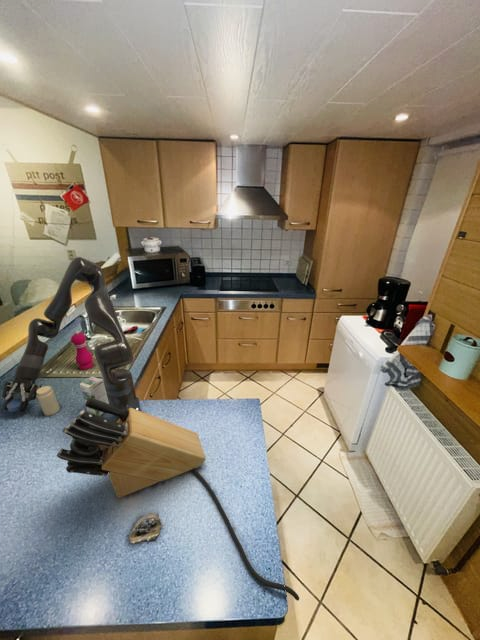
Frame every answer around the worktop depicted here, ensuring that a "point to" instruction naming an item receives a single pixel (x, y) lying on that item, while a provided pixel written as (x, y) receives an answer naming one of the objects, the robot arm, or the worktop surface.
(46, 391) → the jar
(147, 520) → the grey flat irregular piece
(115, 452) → the knife block
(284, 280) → the worktop surface
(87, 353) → the pepper mill
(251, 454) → the worktop surface
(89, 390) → the syrup box
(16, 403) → the lid
